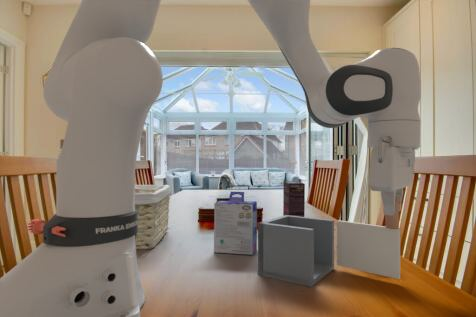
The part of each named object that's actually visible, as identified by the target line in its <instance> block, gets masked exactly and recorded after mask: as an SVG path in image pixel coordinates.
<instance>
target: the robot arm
mask: <svg viewBox="0 0 476 317" xmlns="http://www.w3.org/2000/svg"><path fill="white" fill-rule="evenodd" d="M161 1H162V0H81V2H80V5H79V7H78V9H77V12H76V13H75V15H74V18H73V20H72V22H71V23H70V26H69V28H68V30H67V32H66V34H65V36H64V38H63V40H62V42H61V44H60V48H59V49H58V50H57V51H58V52H57V54H56V56H55V57H54V58H55V59H54V61H53V63H52V65H51V68H50V70H49V73H48V74H47V77H46V79H45V82H44V85H43V91H42V93H43V98H44V101H45V104H46V106H47V107H48V109H49V110H50V111H51V112H52V113H53V114H54V115H55V116H56V117H57V118H59V119H61V120H63V121H66V122H67V123H66V124H67V125H66V130H65V134H64V139H63V143H62V147H61V150H60V153H59V155H58V157H57V160H56V171H55V172H56V174H55V175H56V180H55V182H56V184H55V185H56V188H55V189H56V190H55V193H56V195H55V198H56V200H55V201H56V202H55V204H56V205H55V206H56V207H55V209H56V210H55V212H56V213H55V214H54V215H53V216H51V218H50V219H49V220H48V221H46V220H43V219H40V218H34V219H31V220H30V221H29V223H27V230H28V231H29V232H30V233H32V234H36V235H42V243H40V244H39V245H38V246H37V247H36V248H35V249H34V250H33V251H32V252H30V253H29V254H28V255H27V256H26V257H24V258H23V259H22V260H21V261H20V262H19V263H17V264H16V265H15V266H14V267H12V268H11V269H10V270H9V271H8V272H6V273H5V274H4V275H2V276H1V277H0V317H141V308H142V306H143V305H144V303H145V301H146V296H145V293H144V289H143V285H142V282H141V278H140V272H139V271H140V270H139V265H138V258H137V249H136V243H135V240H136V236H137V232H138V217H137V211H136V210H135V185H136V166H137V157H138V151H139V146H140V143H141V139H142V135H143V131H144V127H145V123H146V121H147V118H148V115H149V112H150V110H151V108H152V106H153V105H154V103H155V102H156V101H157V99H159V98H158V97H159V96H160V94H161V91H162V88H163V71H162V67H161V64H160V62H159V60H158V58H157V57H156V55H155V54H154V52H153V51H152V50H151V49H150V48H149V47H148V46H147V45H145V44H146V42H147V41H148V40H149V38H150V37H151V35H152V33H153V31H154V26H155V22H156V19H157V16H158V12H159V8H160V5H161ZM247 1H248V3H249V4H250V6H251V7H252V10H254V12H255V13H256V14H257V17H258V18H260V20H261V22H262V24H264V26H265V28H266V29H267V30H268V32H269V33H270V35H271V37H272V38H273V40H274V41H275V43H276V44H277V45H278V48H279V49H280V51H281V53H282V55H283V58H284V59H285V60H286V62H287V63H288V65H289V67H290V69H291V71H292V72H293V74H294V76H295V77H296V79H297V81H298V83H299V84H300V86H301V88H302V90H303V93H304V97H305V103H306V110H307V112H308V115H309V117H310V118H311V119H312V121H313V122H315V123H316V124H317V125H319V126H320V127H323V128H326V129H334V128H335V129H336V128H339V127H342V126H344V125H346V124H347V123H349V122H351V121H353V120H356V119H358V118H365V119H367V148H368V149H371V151H370V157H369V171H368V173H369V175H368V184H369V189H370V191H373V192H380V193H381V194H380V195H381V202H382V206H383V208H382V209H383V212H382V214H384V215H391V216H392V215H394V214H395V213H396V205H395V197H397V198H399V212H400V211H401V210H402V201H403V195H404V188H406V187H411V186H412V184H413V183H412V182H413V178H414V172H415V162H416V151H417V150H419V148H420V147H421V117H420V114H419V103H420V100H421V96H422V95H421V90H422V89H421V85H422V84H421V72H420V65H419V62H418V59H417V57H416V55H415V54H414V53H413V52H411V51H409V50H407V49H404V48H401V47H400V48H399V47H392V48H391V47H389V48H388V47H387V48H386V47H385V48H382V49H378V50H376V51H375V52H374V53H373V54H371V55H370V56H368V57H367V58H365V59H363V60H360V61H357V62H356V63H355V62H354V63H352V64H346V65H343V66H341V67H339V68H337V69H335V70H334V71H333V72H330V71H329V70H328V68H327V65H326V64H325V63H324V60H323V59H322V56H321V55H320V52H318V50H317V48H316V47H315V46H316V45H314V42H313V40H312V37H311V33H310V26H309V25H310V24H309V22H310V17H309V16H310V8H311V0H247Z"/></svg>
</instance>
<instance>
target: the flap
mask: <svg viewBox="0 0 476 317" xmlns="http://www.w3.org/2000/svg"><path fill="white" fill-rule="evenodd" d="M395 205H396V213H395V214H394V215H392V216H391V215H385V214H384V215H385V218H384V219H385V220H384V222H385V225H377V224H369V223H363V222H355V221H347V220H336V266H338V267H343V268H348V269H352V270H357V271H362V272H365V273H371V274H373V275H377V276H383V277H388V278H392V279H396V280H400V279H401V227H400V226H399V225H400V222H399V220H400V219H399V218H400V217H399V216H400V215H399V214H400V213H399V212H400V211H399V198H397V197H395ZM399 227H400V228H399Z"/></svg>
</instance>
